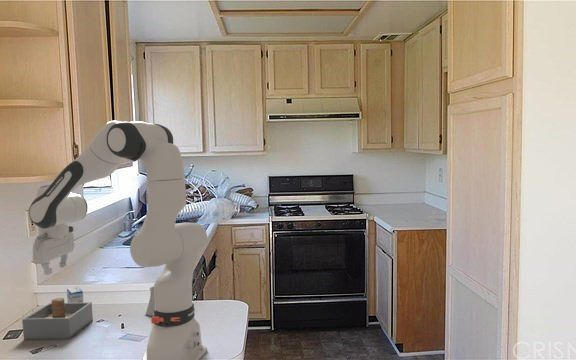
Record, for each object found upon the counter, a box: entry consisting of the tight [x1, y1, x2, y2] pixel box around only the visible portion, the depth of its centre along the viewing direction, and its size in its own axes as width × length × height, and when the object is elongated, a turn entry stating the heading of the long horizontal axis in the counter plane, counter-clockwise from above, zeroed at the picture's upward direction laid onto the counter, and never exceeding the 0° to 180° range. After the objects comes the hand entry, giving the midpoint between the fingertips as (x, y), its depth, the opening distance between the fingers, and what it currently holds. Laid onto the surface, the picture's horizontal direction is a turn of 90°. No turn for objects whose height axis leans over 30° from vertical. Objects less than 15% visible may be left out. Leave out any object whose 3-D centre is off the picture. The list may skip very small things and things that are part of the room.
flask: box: [145, 286, 155, 317], centre depth 174 cm, size 7×7×10 cm
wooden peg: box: [51, 297, 66, 318], centre depth 160 cm, size 4×4×10 cm
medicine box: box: [66, 286, 85, 303], centre depth 179 cm, size 8×4×9 cm, turn 37°
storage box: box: [21, 301, 94, 341], centre depth 160 cm, size 16×16×7 cm
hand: (55, 270), depth 159 cm, fingers open, 8 cm apart
